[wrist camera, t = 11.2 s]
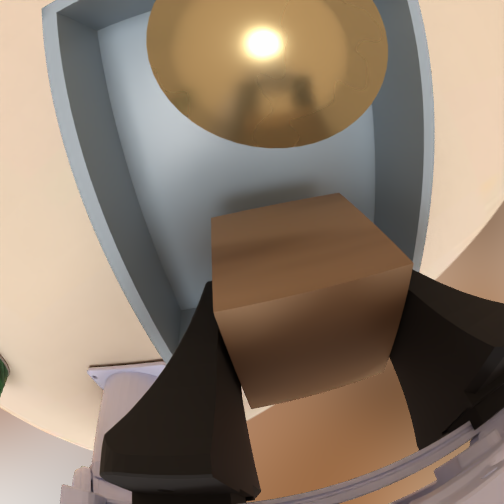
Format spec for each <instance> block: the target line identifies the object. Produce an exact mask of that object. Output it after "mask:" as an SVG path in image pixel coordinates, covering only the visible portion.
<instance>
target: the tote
mask: <svg viewBox="0 0 504 504" xmlns="http://www.w3.org/2000/svg"><path fill="white" fill-rule="evenodd" d="M155 1H156V0H55V1H53V2H52V3H50V4H48V5H47V6H45V7H44V8H42V24H43V37H44V47H45V56H46V63H47V70H48V76H49V82H50V88H51V93H52V98H53V103H54V107H55V112H56V116H57V120H58V124H59V128H60V132H61V136H62V139H63V143H64V146H65V150H66V153H67V157H68V160H69V163H70V166H71V169H72V172H73V175H74V178H75V181H76V184H77V187H78V190H79V193H80V195H81V198H82V201H83V203H84V206H85V209H86V211H87V214H88V216H89V219H90V221H91V224H92V226H93V228H94V231H95V233H96V235H97V238H98V240H99V242H100V245H101V247H102V249H103V251H104V253H105V256H106V258H107V260H108V262H109V264H110V266H111V268H112V270H113V272H114V274H115V276H116V278H117V280H118V282H119V284H120V286H121V288H122V290H123V292H124V294H125V296H126V298H127V300H128V301H129V303H130V305H131V307H132V309H133V311H134V312H135V314H136V316H137V318H138V319H139V321H140V323H141V325H142V326H143V328H144V330H145V331H146V333H147V335H148V336H149V338H150V340H151V341H152V343H153V345H154V346H155V348H156V349H157V351H158V352H159V354H160V356H161V357H162V359H163V360H164V362H165V363H166V365H167V363H168V362H169V360H170V359H171V357H172V355H173V354H174V352H175V350H176V349H177V347H178V345H179V343H180V341H181V339H182V338H183V336H184V334H185V332H186V330H187V328H188V326H189V324H190V321H191V319H192V317H193V315H194V312H195V310H196V308H197V305H198V303H199V300H200V298H201V295H202V292H203V290H204V287H205V284H206V283H207V282H208V281H212V252H211V218H213V217H217V216H222V215H226V214H231V213H236V212H240V211H245V210H250V209H255V208H260V207H264V206H269V205H275V204H280V203H285V202H290V201H295V200H301V199H306V198H312V197H317V196H323V195H328V194H334V193H340V194H341V195H342V196H344V197H345V198H346V199H347V200H348V201H349V202H351V203H352V204H353V205H354V206H355V207H356V208H357V209H358V210H359V211H361V212H362V213H363V214H364V215H365V216H366V217H367V218H368V219H369V220H370V221H372V222H373V223H374V224H375V225H376V226H377V227H378V228H379V229H380V230H381V231H382V232H383V233H384V234H385V235H386V236H387V237H388V238H389V239H390V240H391V241H392V242H393V243H394V244H395V245H396V246H397V247H398V248H399V249H400V250H401V251H402V252H403V253H404V254H405V255H406V256H407V257H408V258H409V259H410V260H411V261H412V262H413V263H414V264H413V270H415V271H417V272H419V270H420V265H421V261H422V256H423V250H424V245H425V239H426V233H427V226H428V219H429V212H430V203H431V194H432V182H433V167H434V100H433V86H432V75H431V66H430V58H429V51H428V45H427V39H426V34H425V28H424V23H423V19H422V14H421V10H420V6H419V2H418V0H373V2H374V3H375V5H376V7H377V9H378V11H379V13H380V16H381V18H382V21H383V24H384V27H385V30H386V36H387V42H388V62H387V69H386V73H385V77H384V80H383V83H382V85H381V88H380V90H379V92H378V94H377V96H376V97H375V99H374V101H373V102H372V104H371V105H370V106H369V108H368V109H367V110H366V111H365V112H364V114H363V115H362V116H361V117H359V118H358V119H357V120H356V121H355V122H354V123H353V124H351V125H350V126H348V127H347V128H346V129H344V130H343V131H341V132H339V133H337V134H335V135H333V136H331V137H330V138H327V139H324V140H322V141H319V142H316V143H313V144H308V145H304V146H300V147H291V148H261V147H252V146H248V145H243V144H239V143H235V142H232V141H229V140H226V139H223V138H221V137H219V136H216V135H214V134H212V133H210V132H208V131H206V130H204V129H203V128H201V127H200V126H198V125H196V124H195V123H193V122H192V121H191V120H189V119H188V118H187V117H186V116H184V115H183V114H182V113H181V112H180V111H179V110H178V109H177V108H176V107H175V106H174V105H173V104H172V103H171V102H170V101H169V100H168V98H167V97H166V95H165V94H164V92H163V91H162V90H161V88H160V87H159V85H158V83H157V81H156V79H155V77H154V75H153V72H152V69H151V66H150V63H149V59H148V53H147V47H146V32H147V26H148V20H149V16H150V13H151V10H152V8H153V5H154V3H155Z"/></svg>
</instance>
